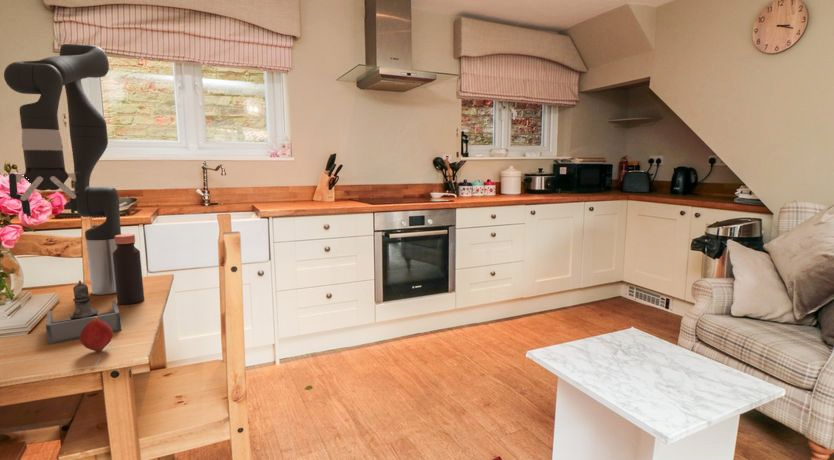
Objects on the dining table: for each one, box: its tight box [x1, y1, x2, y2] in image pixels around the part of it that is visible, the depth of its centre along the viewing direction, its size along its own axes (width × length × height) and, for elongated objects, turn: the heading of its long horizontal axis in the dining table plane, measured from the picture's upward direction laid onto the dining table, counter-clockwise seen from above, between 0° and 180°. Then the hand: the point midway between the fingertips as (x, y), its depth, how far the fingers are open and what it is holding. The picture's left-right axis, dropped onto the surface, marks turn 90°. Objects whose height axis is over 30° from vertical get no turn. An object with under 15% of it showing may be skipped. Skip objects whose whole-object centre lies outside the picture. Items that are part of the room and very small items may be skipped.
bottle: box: [113, 233, 145, 306], centre depth 131 cm, size 7×7×20 cm
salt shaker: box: [68, 280, 99, 320], centre depth 110 cm, size 6×6×12 cm
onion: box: [79, 317, 114, 353], centre depth 98 cm, size 6×6×8 cm
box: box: [45, 300, 122, 345], centre depth 110 cm, size 12×14×4 cm
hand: (51, 214), depth 111 cm, fingers open, 8 cm apart
